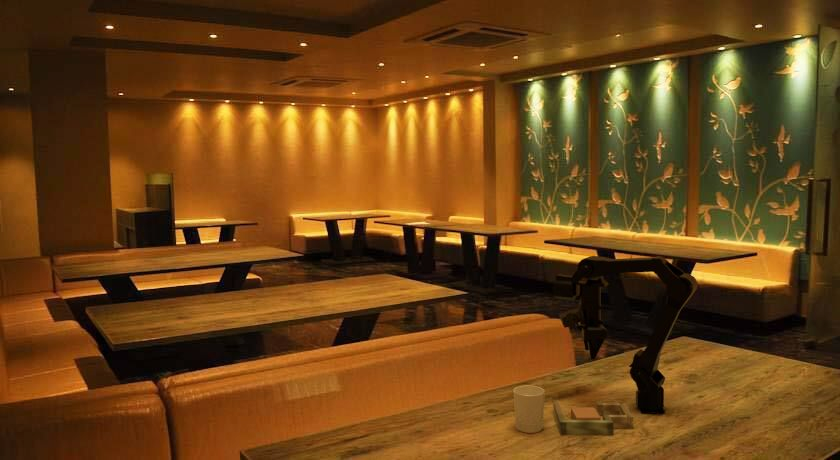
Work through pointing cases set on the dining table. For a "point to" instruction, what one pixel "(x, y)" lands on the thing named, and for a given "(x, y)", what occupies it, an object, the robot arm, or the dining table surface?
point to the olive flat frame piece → (612, 418)
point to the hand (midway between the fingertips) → (589, 354)
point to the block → (584, 414)
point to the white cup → (529, 408)
